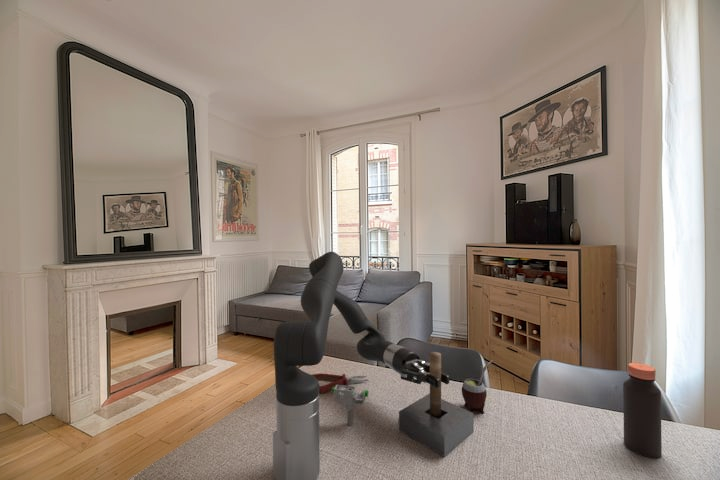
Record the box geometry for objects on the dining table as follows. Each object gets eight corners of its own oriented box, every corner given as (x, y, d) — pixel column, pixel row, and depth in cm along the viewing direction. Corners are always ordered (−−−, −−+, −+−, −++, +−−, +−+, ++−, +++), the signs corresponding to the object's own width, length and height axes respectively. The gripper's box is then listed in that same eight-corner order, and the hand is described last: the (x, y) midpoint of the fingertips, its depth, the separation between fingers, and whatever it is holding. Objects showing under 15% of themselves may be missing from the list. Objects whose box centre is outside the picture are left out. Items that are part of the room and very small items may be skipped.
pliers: (371, 389, 105) (371, 381, 105) (310, 396, 100) (310, 388, 100) (363, 374, 117) (363, 367, 117) (308, 380, 112) (308, 373, 112)
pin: (437, 417, 79) (436, 357, 79) (427, 413, 81) (427, 353, 81) (443, 413, 81) (443, 354, 81) (433, 408, 83) (433, 351, 83)
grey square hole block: (444, 457, 71) (444, 436, 71) (399, 429, 81) (398, 411, 82) (473, 431, 81) (473, 413, 81) (429, 410, 91) (429, 393, 91)
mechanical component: (367, 429, 82) (367, 392, 82) (331, 425, 84) (330, 389, 84) (369, 422, 85) (368, 387, 85) (334, 418, 87) (333, 384, 87)
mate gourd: (457, 407, 92) (456, 358, 92) (472, 399, 97) (471, 352, 97) (479, 419, 86) (479, 366, 86) (494, 409, 91) (493, 360, 91)
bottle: (641, 459, 70) (640, 372, 70) (616, 439, 77) (615, 361, 77) (670, 458, 70) (669, 372, 70) (642, 439, 77) (641, 361, 77)
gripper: (382, 352, 90) (424, 374, 75) (417, 343, 97) (461, 361, 82) (382, 377, 90) (424, 404, 75) (417, 366, 97) (461, 389, 83)
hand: (443, 382), depth 79 cm, fingers closed on pin, 3 cm apart
